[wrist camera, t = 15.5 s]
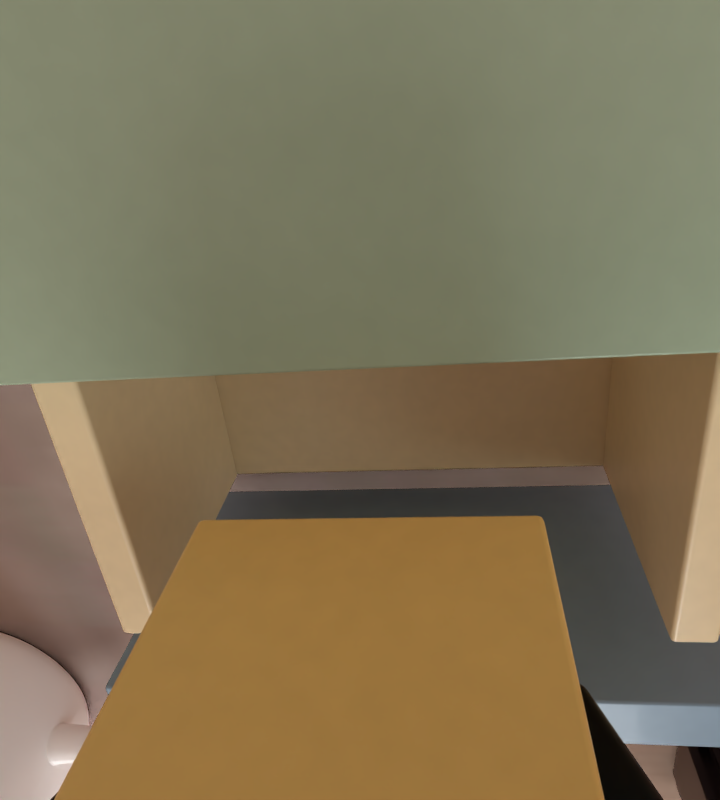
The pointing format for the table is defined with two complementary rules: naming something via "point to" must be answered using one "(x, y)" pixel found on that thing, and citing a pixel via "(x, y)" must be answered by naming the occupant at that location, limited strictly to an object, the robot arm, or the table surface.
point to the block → (349, 669)
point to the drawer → (442, 492)
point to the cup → (37, 722)
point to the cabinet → (354, 184)
